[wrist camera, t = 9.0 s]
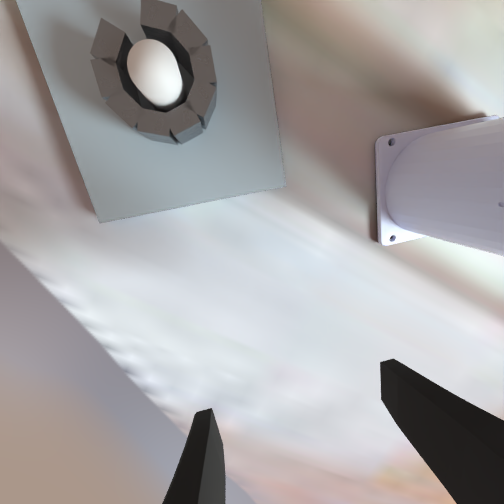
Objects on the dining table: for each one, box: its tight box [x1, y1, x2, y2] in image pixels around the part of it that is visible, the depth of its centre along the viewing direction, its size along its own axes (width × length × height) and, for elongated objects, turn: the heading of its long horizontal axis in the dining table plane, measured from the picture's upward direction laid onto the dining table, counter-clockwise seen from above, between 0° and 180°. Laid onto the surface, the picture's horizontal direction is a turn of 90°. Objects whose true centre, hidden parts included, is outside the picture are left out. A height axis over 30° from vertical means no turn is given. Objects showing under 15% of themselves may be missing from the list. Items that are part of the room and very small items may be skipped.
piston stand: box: [16, 0, 286, 223], centre depth 13 cm, size 12×12×5 cm
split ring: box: [90, 0, 217, 145], centre depth 12 cm, size 5×5×3 cm
